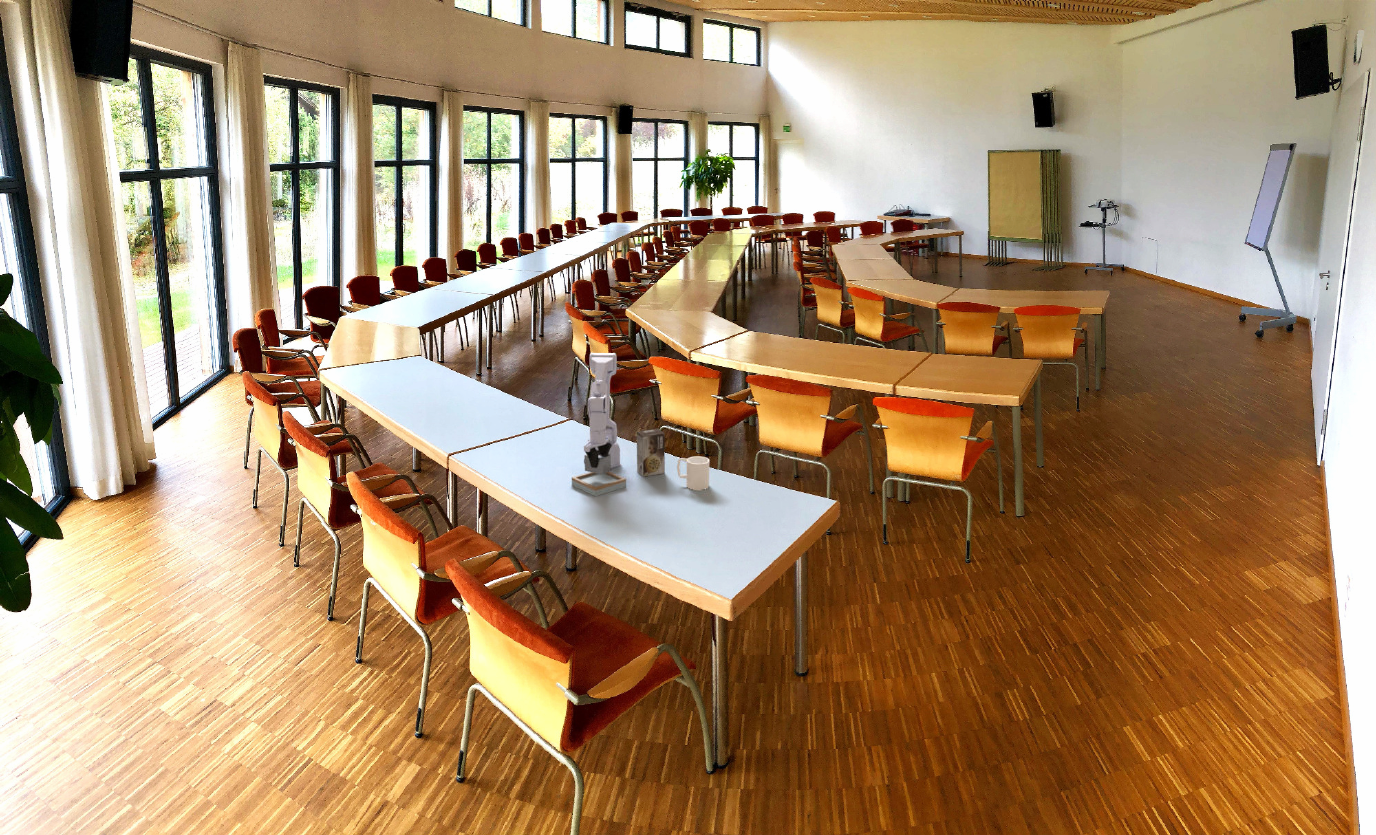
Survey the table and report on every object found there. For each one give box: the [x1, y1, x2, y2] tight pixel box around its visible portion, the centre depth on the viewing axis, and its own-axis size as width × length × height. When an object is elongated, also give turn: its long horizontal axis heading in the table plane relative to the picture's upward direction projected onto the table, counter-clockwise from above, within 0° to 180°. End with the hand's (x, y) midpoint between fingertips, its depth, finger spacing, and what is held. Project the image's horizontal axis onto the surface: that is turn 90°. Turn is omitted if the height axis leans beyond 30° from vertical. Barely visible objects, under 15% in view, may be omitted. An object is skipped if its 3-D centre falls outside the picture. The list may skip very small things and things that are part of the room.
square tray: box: [571, 471, 627, 497], centre depth 319 cm, size 14×14×3 cm
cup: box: [676, 455, 710, 491], centre depth 319 cm, size 8×12×10 cm
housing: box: [583, 453, 612, 475], centre depth 317 cm, size 9×5×6 cm, turn 60°
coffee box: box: [636, 428, 666, 478], centre depth 330 cm, size 9×6×16 cm
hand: (598, 465), depth 317 cm, fingers closed on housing, 5 cm apart
